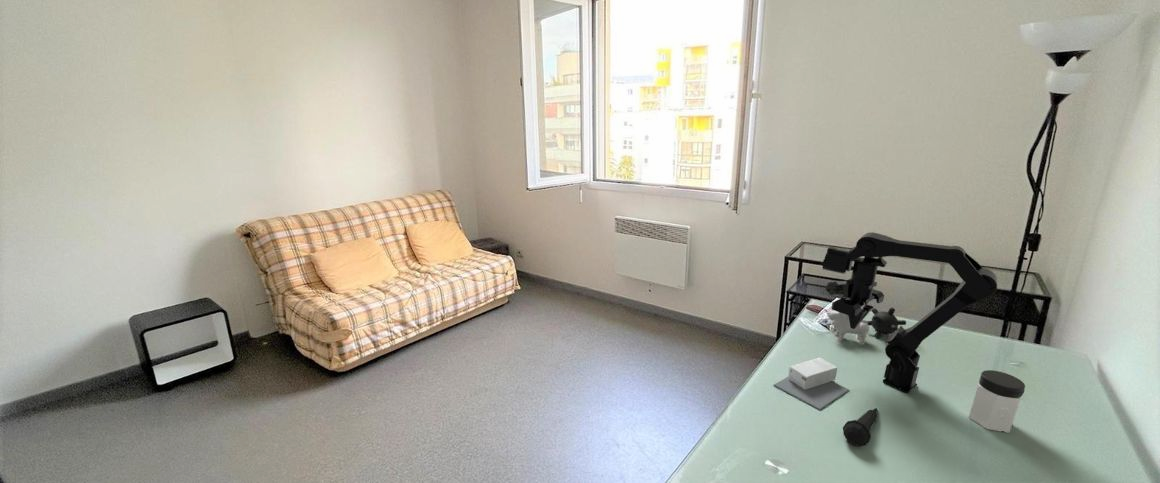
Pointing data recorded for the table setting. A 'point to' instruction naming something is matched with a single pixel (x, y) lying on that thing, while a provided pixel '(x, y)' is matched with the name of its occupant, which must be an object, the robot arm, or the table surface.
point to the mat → (813, 392)
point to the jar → (996, 400)
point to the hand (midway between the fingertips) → (852, 328)
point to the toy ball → (885, 322)
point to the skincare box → (812, 373)
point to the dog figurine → (847, 326)
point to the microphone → (860, 428)
